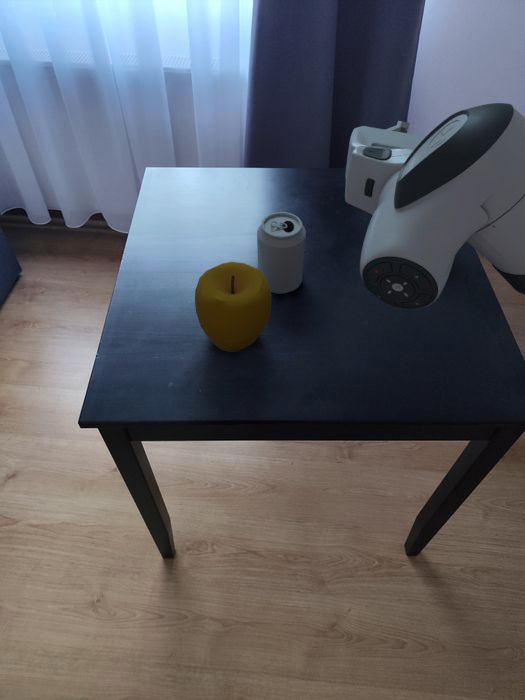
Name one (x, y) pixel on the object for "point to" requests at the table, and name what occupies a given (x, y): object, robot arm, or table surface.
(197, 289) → the apple
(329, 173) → the table surface
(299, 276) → the can
